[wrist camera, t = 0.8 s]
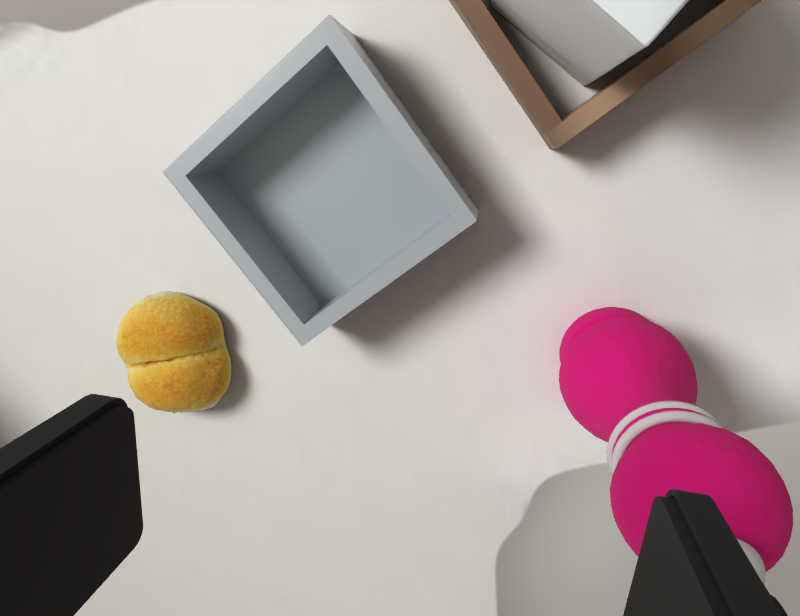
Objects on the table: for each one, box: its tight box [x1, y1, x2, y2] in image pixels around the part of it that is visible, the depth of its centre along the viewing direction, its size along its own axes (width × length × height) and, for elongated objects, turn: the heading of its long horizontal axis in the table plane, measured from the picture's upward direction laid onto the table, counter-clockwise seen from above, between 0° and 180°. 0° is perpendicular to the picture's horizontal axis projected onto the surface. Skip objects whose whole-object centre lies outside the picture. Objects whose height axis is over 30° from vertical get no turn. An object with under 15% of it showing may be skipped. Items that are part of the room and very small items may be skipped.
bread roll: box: [117, 291, 231, 413], centre depth 39 cm, size 8×9×4 cm
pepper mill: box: [559, 307, 793, 584], centre depth 26 cm, size 7×7×20 cm
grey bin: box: [163, 15, 479, 346], centre depth 33 cm, size 13×13×5 cm
